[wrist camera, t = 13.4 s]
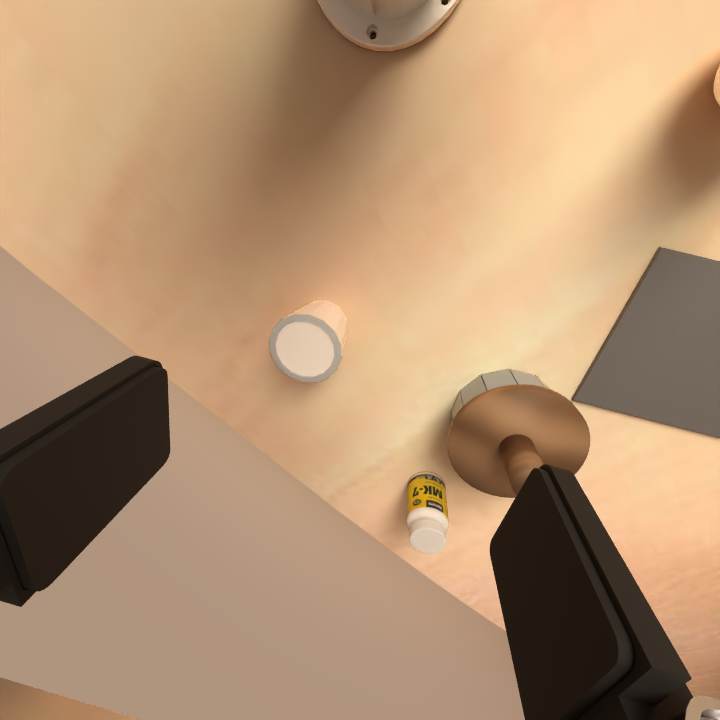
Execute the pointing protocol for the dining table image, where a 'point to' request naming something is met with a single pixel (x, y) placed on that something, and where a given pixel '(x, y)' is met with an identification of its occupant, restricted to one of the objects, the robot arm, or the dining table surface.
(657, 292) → the mat
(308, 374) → the white cup
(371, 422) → the dining table surface
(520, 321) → the dining table surface
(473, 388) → the bowl
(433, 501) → the supplement bottle
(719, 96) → the air blower
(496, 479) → the lid
